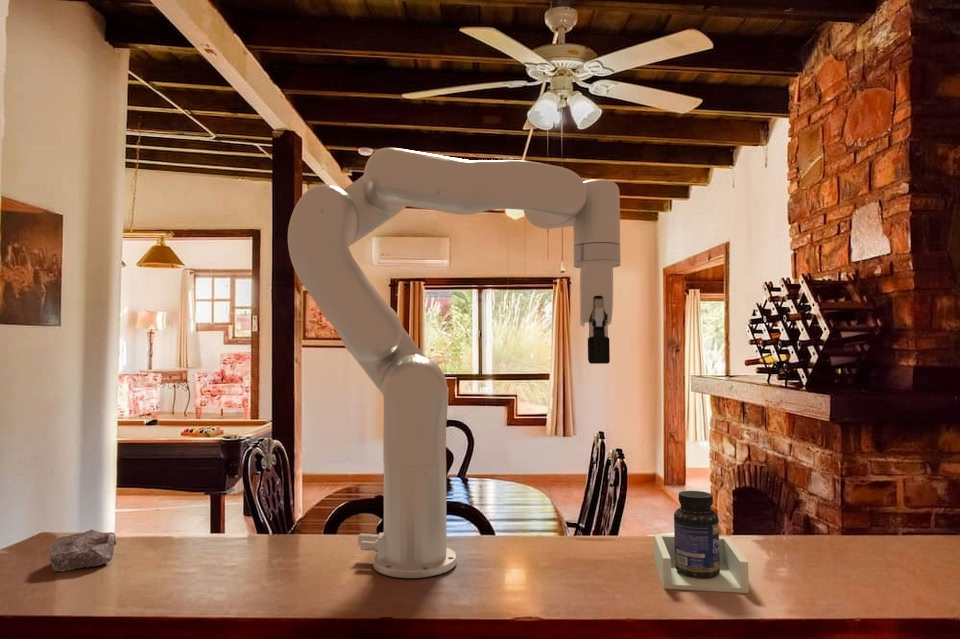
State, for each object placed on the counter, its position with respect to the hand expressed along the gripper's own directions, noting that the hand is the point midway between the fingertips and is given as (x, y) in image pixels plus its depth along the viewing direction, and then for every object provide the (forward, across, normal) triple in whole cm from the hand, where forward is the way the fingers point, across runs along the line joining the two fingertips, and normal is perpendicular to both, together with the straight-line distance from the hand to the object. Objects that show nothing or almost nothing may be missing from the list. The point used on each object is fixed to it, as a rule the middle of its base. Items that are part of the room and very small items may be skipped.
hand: (598, 362), depth 103 cm
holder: (+30, +9, +14) cm, 34 cm away
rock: (+31, +16, -79) cm, 86 cm away
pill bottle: (+30, +9, +13) cm, 34 cm away
